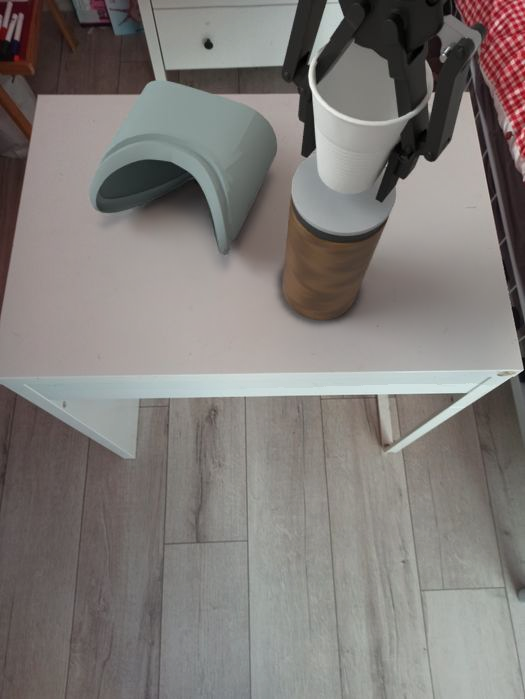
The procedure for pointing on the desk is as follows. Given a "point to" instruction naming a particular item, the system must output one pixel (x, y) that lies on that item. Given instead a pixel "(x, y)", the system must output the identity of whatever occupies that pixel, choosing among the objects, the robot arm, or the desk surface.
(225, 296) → the desk surface
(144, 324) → the desk surface
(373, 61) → the cup
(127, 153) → the sage-green arched shell
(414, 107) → the robot arm
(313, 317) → the plinth
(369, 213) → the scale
